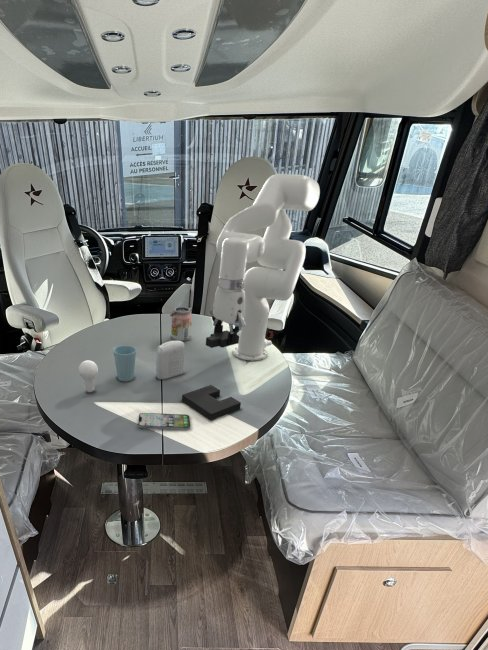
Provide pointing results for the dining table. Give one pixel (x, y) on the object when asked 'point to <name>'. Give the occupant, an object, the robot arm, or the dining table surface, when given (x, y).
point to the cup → (125, 362)
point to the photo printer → (170, 359)
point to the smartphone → (164, 421)
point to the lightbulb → (88, 374)
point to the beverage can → (181, 324)
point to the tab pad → (219, 339)
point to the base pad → (210, 402)
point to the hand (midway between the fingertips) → (224, 340)
